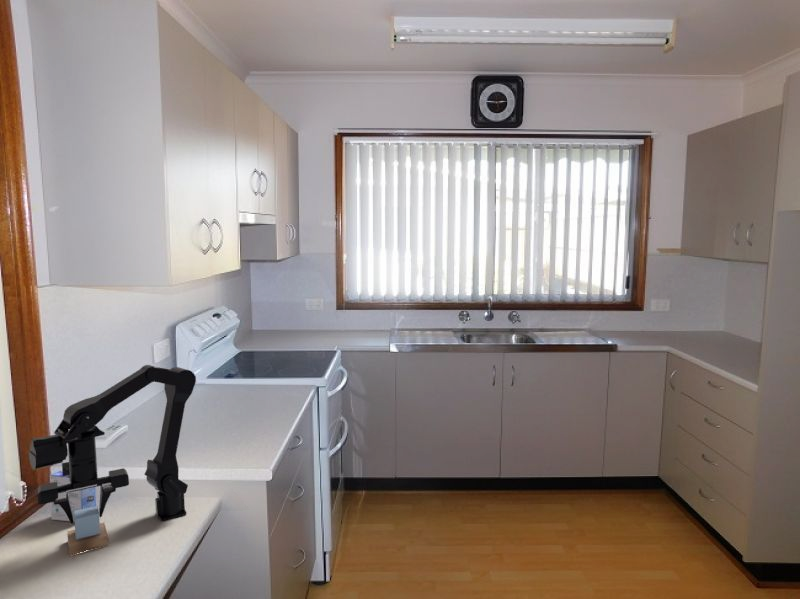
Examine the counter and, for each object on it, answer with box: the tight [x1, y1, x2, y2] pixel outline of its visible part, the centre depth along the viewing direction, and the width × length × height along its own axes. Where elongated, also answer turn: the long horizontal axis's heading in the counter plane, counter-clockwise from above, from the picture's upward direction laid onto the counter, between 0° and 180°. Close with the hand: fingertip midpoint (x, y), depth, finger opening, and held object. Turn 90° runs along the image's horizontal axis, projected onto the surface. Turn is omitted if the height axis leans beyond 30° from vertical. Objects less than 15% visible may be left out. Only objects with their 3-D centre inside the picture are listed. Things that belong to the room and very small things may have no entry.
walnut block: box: [66, 521, 109, 557], centre depth 133 cm, size 8×8×3 cm
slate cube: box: [74, 505, 101, 540], centre depth 132 cm, size 5×5×5 cm
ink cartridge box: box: [49, 469, 97, 523], centre depth 146 cm, size 10×6×14 cm, turn 78°
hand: (86, 519), depth 132 cm, fingers open, 6 cm apart
